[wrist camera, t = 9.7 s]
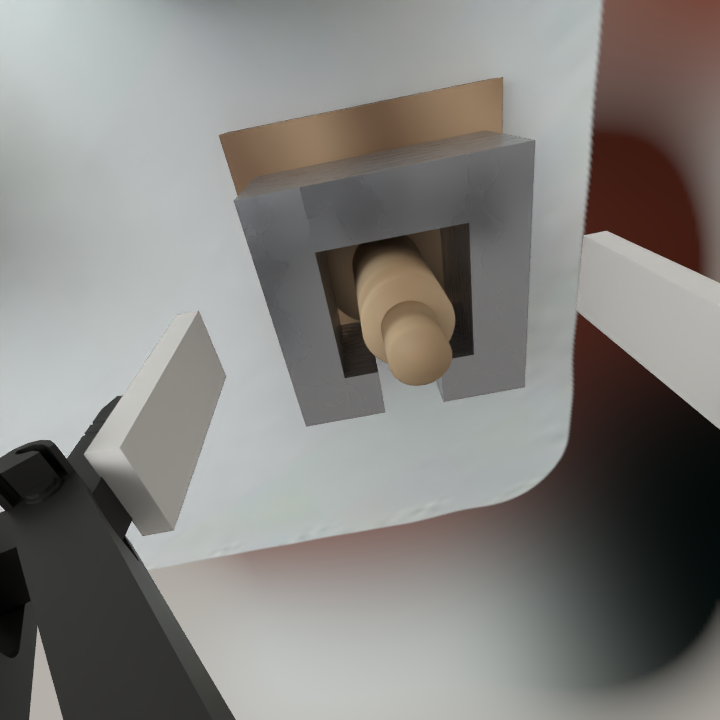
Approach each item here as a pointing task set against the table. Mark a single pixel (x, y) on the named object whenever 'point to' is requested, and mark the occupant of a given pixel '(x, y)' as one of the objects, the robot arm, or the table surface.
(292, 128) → the post fixture
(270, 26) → the table surface
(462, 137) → the grey split frame
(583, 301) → the robot arm
